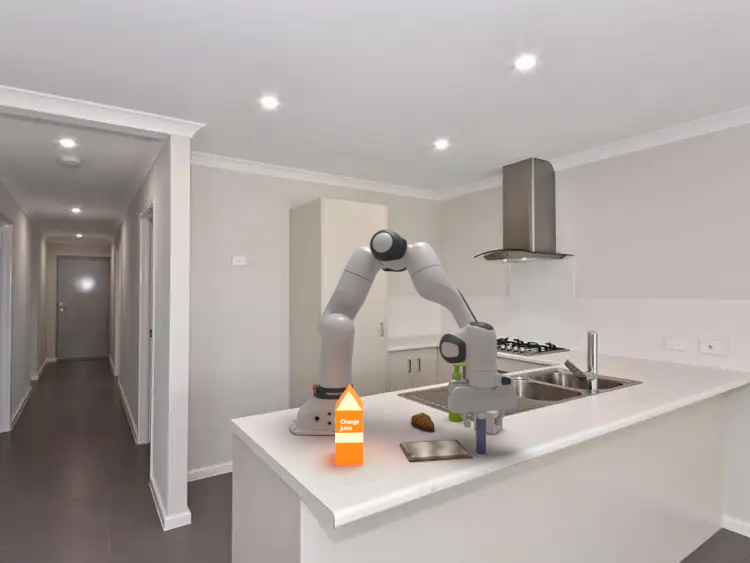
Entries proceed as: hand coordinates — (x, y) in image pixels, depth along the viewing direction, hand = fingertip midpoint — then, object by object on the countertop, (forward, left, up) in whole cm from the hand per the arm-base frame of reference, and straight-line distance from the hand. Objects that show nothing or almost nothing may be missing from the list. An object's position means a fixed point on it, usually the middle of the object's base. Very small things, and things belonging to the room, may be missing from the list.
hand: (482, 425), depth 127 cm
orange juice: (-39, +2, -8) cm, 40 cm away
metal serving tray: (-14, +3, -7) cm, 16 cm away
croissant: (-12, +25, -8) cm, 28 cm away
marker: (-1, 0, -7) cm, 7 cm away
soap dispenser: (+3, +30, -8) cm, 31 cm away
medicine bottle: (+9, +18, -8) cm, 21 cm away
